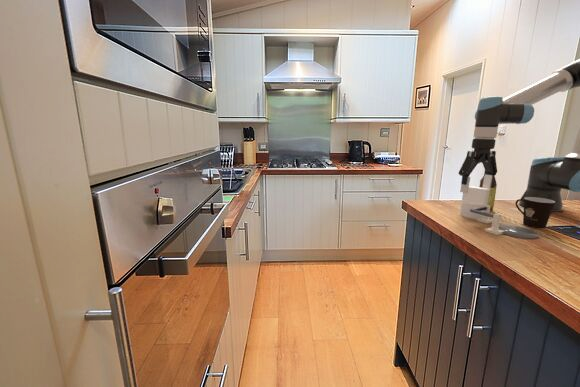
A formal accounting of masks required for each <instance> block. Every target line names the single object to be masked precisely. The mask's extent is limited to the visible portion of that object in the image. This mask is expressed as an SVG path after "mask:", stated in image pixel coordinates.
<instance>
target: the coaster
mask: <svg viewBox="0 0 580 387" xmlns="http://www.w3.org/2000/svg"><path fill="white" fill-rule="evenodd" d="M499 230H502V231H504V232H503V233H502V234H501V235H505V236H509V237H513V238H518V239H519V238H520V239H527V240H530V239H531V240H532V239H533V240H535V239H538V238H539V237H540V234H539V233H538V232H537V231H535V230H532V229H530V228H527V227H526V228H525V227H522V226H516V225H512V224H511V225H509V224H507V225H506V224H499Z"/></svg>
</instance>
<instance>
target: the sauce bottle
mask: <svg viewBox="0 0 580 387" xmlns="http://www.w3.org/2000/svg"><path fill="white" fill-rule="evenodd" d="M493 170H494V169H493ZM483 172H484V173H483V176H482V178H481V179H480V181H479V187H480V188H482V187H483V181H484V176H485V174H486V171H485V170H484V171H483ZM486 175H487V174H486ZM495 176H496V175H493V176H492V181H491V187H490V192H489V198H488V204H487V205H490V206H491V207H490V212H492V211H493V210H494V207H495V200H496V194H497V185H498V184H497V180H496V177H495Z"/></svg>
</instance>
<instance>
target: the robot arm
mask: <svg viewBox="0 0 580 387" xmlns="http://www.w3.org/2000/svg"><path fill="white" fill-rule="evenodd" d="M578 87H580V58H579V59H576V60H575V61H572V62H570V63H569V64H567V65H564V66H563V67H560V68H558V69H556V70H555V71H553V72H552V73H551V74H550V75H549V76H548V77H546V78H544V79H541V80H539V81H538V82H535V83H533V84H532V85H529V86H527V87H526V88H523V89H521V90H519V91H517V92H515V93H513V94H511V95H509V96H507V97H505V98H503V97H502V96H485V97H484V96H483V97H481V98H480V99H479V102H478V105H477V110H476V111H475V113H474V120H475V124H474V131H473V139H472V142H471V148H472V149H473V150H467V153H466V157H465V158H464V161H463V163H462V164H461V167H460V169H459V171H458V175H459V176H461V181H460V182H461V183H460V185H461V186H460V190H459V191H460V193H462V194H463V193H468V189H469V186H470V182H471V176H470V175H471V174H472V173H473V171H474V170H475V168H476V167H477V166H478V164H482V165H483V168H484V172H485V171H486V174H487V175H486V174H485V176H484V175H483V176H484V181H483V187H482V188H487V189H490V187H491V181H492V176H493V175H494V176H496V175H497V173H498V167H497V161H496V156H497V155H496V154H497V151H496V150H493V149H495V146H496V141H497V140H496V138H497V135H498V128H499V126H500V125H506V124H509V125H511V124H512V125H513V124H516V125H521V124H524V125H525V124H527V123H529V122H530V121H531V120H532V119H533V118H534V114H535V108H534V106H533V105H535V104H536V103H539V102H540V101H542V100H545V99H547V98H548V97H551V96H553V95H555V94H557V93H559V92H560V93H565V92H567V91H569V90H571V89H572V90H573V89H575V88H578ZM493 169H494V170H493ZM526 186H527V187H526V190H525V191H524V192H523V194H522V196H521V197H520V199H523V200H524V198H525V197H536V198H544V199H549V200H553V201H555V204H554V207H553V209H552V212H560V211H562V210H563V206H564V205H563V200H562V194H561V192H562V191H561V190H565V191H566V190H567V191H571V192H573V193H580V125H579V126H578V129H577V132H576V136H575V139H574V143H573V144H572V149H571V151H570V153H568V154H566V155H565V156H564V157H560V156H559V157H557V156H556V157H553V156H551V157H535V158H533V160H532V162H531V165H530V169H529V176H528V180H527V184H526ZM519 205H520V206H521V207H524V202H523V201H521V200H520V201H518V206H519Z"/></svg>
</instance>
